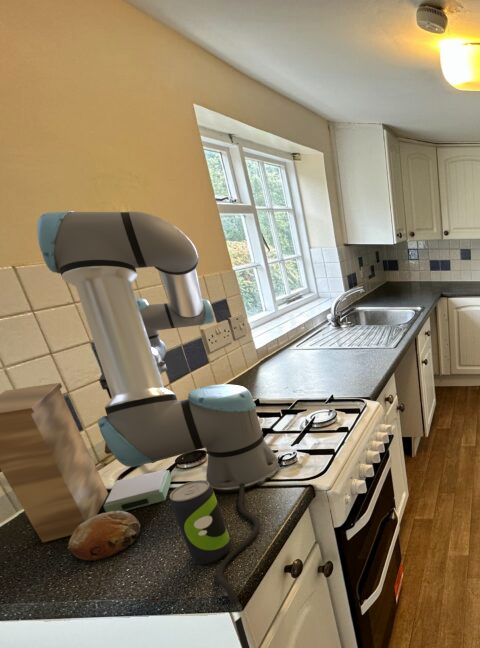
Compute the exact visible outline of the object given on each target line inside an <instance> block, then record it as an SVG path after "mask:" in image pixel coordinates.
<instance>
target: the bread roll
mask: <svg viewBox="0 0 480 648" xmlns="http://www.w3.org/2000/svg"><path fill="white" fill-rule="evenodd" d="M140 531H141V524H140V522H139V520H138V519H137V518H136V516H135V515H133V514H132V513H130V512H127V511H111V512H106V511H105V512H102V513H98V515H96V516H94V517H92V518H90V519H88V520H86V521H85V522H83V523H82V524H80V525H79V526H78V527H77V528H76V529H75V531H74V532H73V534H72V535H70V538H69V540H68V549H69V550H70V551H71V553H72V555H73V556H74V557H75V558H77V559H80V560H83V561H96V560H102V559H105V558H109V557H111V556H113V555H115V554H117V553H119V552H120V551H123V550H125V549H127V548H128V547H129V546H130V545H133V543H134V542H135V541H136V539H137V538H138V536H139V534H140Z"/></svg>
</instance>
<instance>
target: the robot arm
mask: <svg viewBox="0 0 480 648" xmlns="http://www.w3.org/2000/svg"><path fill="white" fill-rule="evenodd" d="M36 233H37V241H38V246H39V249H40V252H41V253H42V258H43V261H44V263H45V265H46V267H47V268H48V270H50V271H51V272H52V273H56V274H59V275H60V276H61V279H62V280H63V281H64V282H66V283H67V284H70V285H71V286H73V287H75V288H76V291H77V295H78V298H79V301H80V304H81V307H82V310H83V313H84V316H85V319H86V322H87V325H88V328H89V333H90V335H91V338H92V340H93V341H92V342H93V344H94V347H95V350H96V353H97V356H98V359H99V363H100V366H101V368H102V369H100V373H101V374H100V377H99V379H98V382H99V384H100V386H101V389H102V390H104V391H105V390H106V393H107V394H108V397H109V399H110V400H109V401H108V402H107V403H106V404H105V406H104V410H105V413H106V415H103V416H102V417H100V418H99V419H98V420H97V425H98V427H99V431H100V434H101V436H102V438H103V440H104V442H106V444H107V446H108V447H109V449H110V451H111V452H112V453H111V454H112V455H113V457H114V458H115V459H116V460H117V461H118V462H119V463H120V464H121V465H122V466H125V467H128V468H134V467H139V466H143V465H148V464H154V463H157V462H159V461H163V460H167V459H170V458H174V457H177V456H181V455H185V454H188V453H191V452H196V451H200V450H203V449H205V450H206V453H207V465H206V475H205V476H206V477H205V478H206V481H207V482H208V483H209V485H210V486H211V487H212V488H213V491H214V492H216V493H223V494H224V493H227V494H228V493H237V492H238V502H237V507H238V511H239V513H240V514H241V515H242V516H243V517H245V518H246V519H247V520H249V521H251V522H252V524H253V530H252V532H251V534H250V535H249V536H248V537H247V538H246V539H245V540H244V541H243V542H242V543H241V544H239V545H238V546H237V547H236V548H235V549H233V550H232V551H231V552H230V553H228V554H227V556H225V558H224V559H223V560H222V561H221V563H220V564H219V566H218V568H217V570H216V574H215V578H216V579H215V580H216V582H217V583H218V584H219V585H220V586H221V587H222V588H223V589H224V590H225V592H226V594H227V595H228V598H229V601H230V604H231V605H232V606H234V605H236V604H237V603H238V602H239V601H238V596H237V593H236V591H235V589H234V587H233V586H232V584H231V583H230V582H229V581H227V580H226V578H225V577H224V572H225V568H226V566H227V565H228V564H229V562H230V561H231V560H233V559H234V557H235V556H236V555H238V554H239V553H240V552H241V551H242V550H243V549H245V548H246V547H247V546H248V545H250V543H251V542H252V541H253V540H254V539H255V538H256V537H257V535H258V533H259V530H260V527H261V526H260V522H259V520H258V518H257V517H256V516H254V515H252V514H251V513H250V512H248V511H247V510H246V509H245V506H244V499H245V490H248V489H249V490H250V489H252V488H254V487H256V486H259V485H261V484H263V483H265V482H266V481H268V480H270V479H271V478H272V477H273V476H274V475H276V473H277V472H278V471H279V468H280V462H279V460H278V456H277V455H276V454H275V452H274V451H273V450H272V448H271V447H270V446H269V444H268V443H267V442H266V441H265V438H264V435H263V431H262V428H261V423H260V420H259V417H258V413H257V410H256V408H257V405H256V403H255V402H254V398H253V396H252V393H251V391H250V390H249V389H248V388H246V387H244V386H241V385H237V384H222V383H221V384H212V385H211V384H210V385H205V386H200V387H199V388H195V389H193V390H191V391H190V392H189V393H188V396H187V399H183V400H178V398H177V395H176V393H175V392H173V391H171V390H169V389H167V388H165V385H164V382H163V379H162V376H161V375H162V374H163V373H165V372H167V371H168V368H167V365H166V363H165V361H162V360H164V359H165V357H166V353H167V346H166V344H165V342H164V341H163V340H162V339H160V335H159V333H158V332H159V331H164V330H171V329H180V328H187V327H195V326H203V325H208V324H213V323H214V322H215V316H214V311H213V309H212V305H211V302H210V301H209V300H208V299H203V297H202V296H203V295H202V292H201V287H200V282H199V278H198V273H197V268H198V266H199V261H200V259H199V255H198V251H197V248H196V246H195V245H194V242H192V240H191V239H190V238H189V237H188V235H187V234H186V233H184V232H183V231H182V230H180V229H179V228H178V227H177V226H176V225H174V224H173V223H171V222H169V221H167V220H165V219H162V218H161V217H159V216H156V215H153V214H150V213H145V212H142V211H72V210H66V211H58V212H56V211H55V212H54V211H53V212H45V213H43V214H41V215H40V216H39V218H38V220H37V223H36ZM143 268H155V269H156V270H157V271H158V273H159V276H160V279H161V281H162V284H163V288H164V290H165V293H166V296H167V299H168V301H169V302H166V303H165V302H163V303H153V304H152V303H151V304H149V303H148V301H147V299H145V298H138V297H136V294H135V292H134V289H133V285H132V284H133V283H134V282H135V280H136V279H137V278H138V277H139V276H138V272H137V270H136V269H143ZM278 462H279V463H278ZM234 624H235V629H236V631H237V635H238V638H239V642H240V645H241V648H251V647H250V643H249V640H248V637H247V634H246V630H245V627H244V623H243V619H242V616H240V617H238V618H237V619H236V620H235V621H234Z"/></svg>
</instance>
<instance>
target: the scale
mask: <svg viewBox="0 0 480 648" xmlns="http://www.w3.org/2000/svg"><path fill="white" fill-rule="evenodd" d="M172 480H173V477H172V475H171V472H170V470H169V469H168V470H167V469H161V470H155V471H152V472H148V473H145V474H144V473H143V474H139V475H135V476H130V477H127V478H121V479H118V480H115V482H114V485H113V486H112V488H111V490H110V492H109V493H108V495H107V497H106V499H105V501H104V503H103V505H102V506H103V509H104V511H105V513H106V512H111V511H124V512H127V511H130V510H135V509H138V508H141V507H145V506H149V505H153V504H157V503H161V502H165V501H166V499H167V496H168V492H169V489H170V486H171V482H172Z"/></svg>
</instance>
